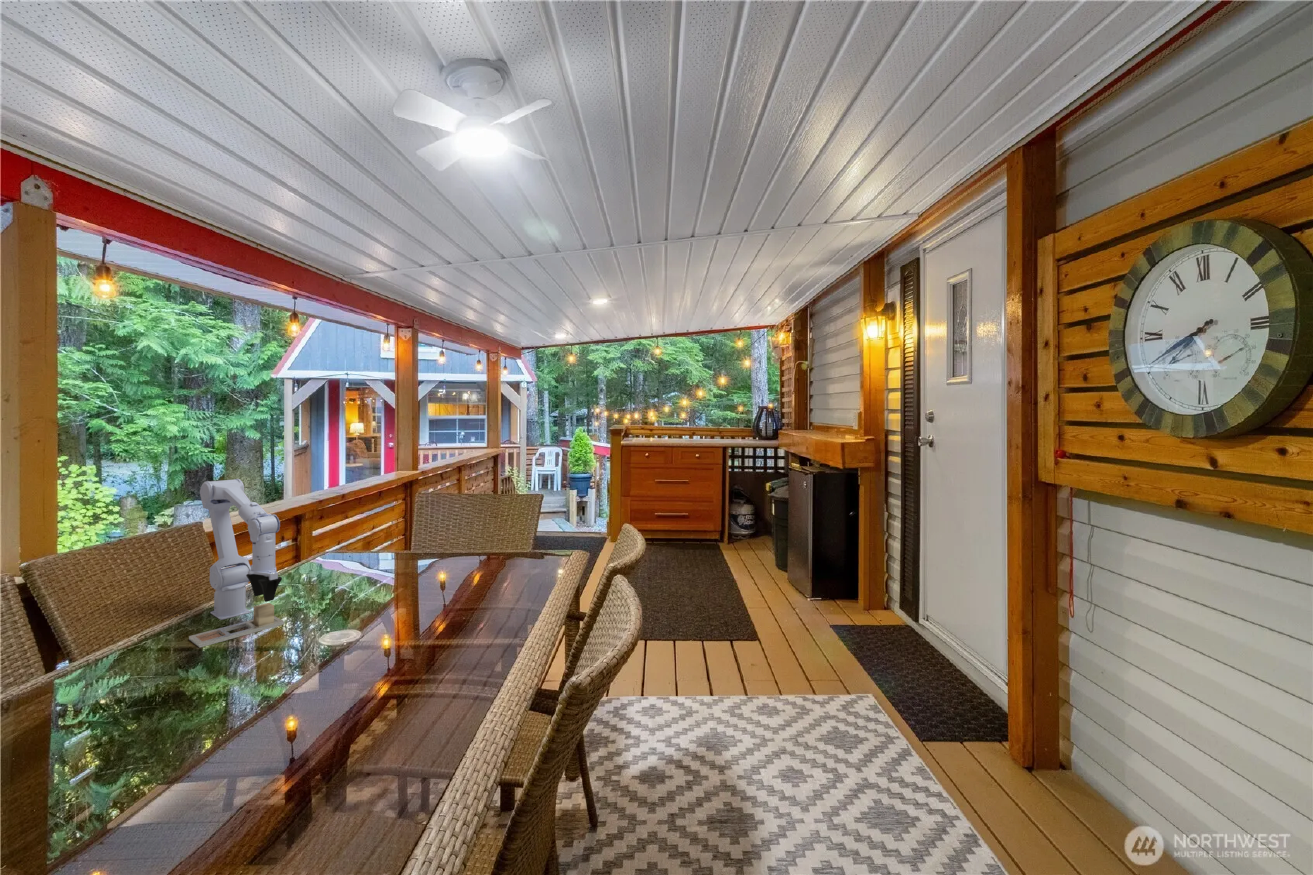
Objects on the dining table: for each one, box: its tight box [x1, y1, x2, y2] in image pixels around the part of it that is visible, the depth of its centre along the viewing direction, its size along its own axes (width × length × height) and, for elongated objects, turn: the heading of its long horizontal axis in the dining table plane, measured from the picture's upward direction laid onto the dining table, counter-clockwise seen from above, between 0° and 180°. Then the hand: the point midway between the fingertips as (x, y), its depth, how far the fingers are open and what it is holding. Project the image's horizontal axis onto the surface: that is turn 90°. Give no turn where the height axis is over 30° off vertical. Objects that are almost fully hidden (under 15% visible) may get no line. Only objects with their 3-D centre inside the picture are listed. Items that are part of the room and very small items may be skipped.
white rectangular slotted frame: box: [188, 615, 285, 648], centre depth 155 cm, size 8×20×1 cm, turn 147°
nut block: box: [253, 602, 275, 626], centre depth 161 cm, size 4×4×6 cm
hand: (263, 598), depth 161 cm, fingers open, 7 cm apart
